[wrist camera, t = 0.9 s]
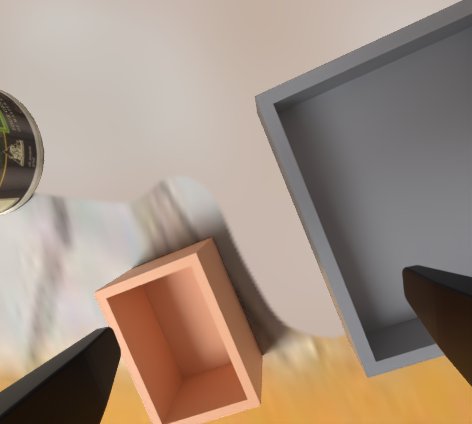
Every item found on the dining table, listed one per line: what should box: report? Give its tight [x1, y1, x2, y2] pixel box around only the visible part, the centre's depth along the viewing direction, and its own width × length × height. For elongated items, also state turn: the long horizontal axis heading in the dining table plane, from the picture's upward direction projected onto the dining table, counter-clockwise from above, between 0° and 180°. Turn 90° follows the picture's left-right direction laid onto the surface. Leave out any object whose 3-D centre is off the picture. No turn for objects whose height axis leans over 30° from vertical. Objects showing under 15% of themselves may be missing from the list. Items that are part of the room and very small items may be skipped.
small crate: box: [94, 237, 262, 424], centre depth 20 cm, size 10×7×5 cm
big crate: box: [255, 0, 472, 378], centre depth 18 cm, size 18×16×4 cm
